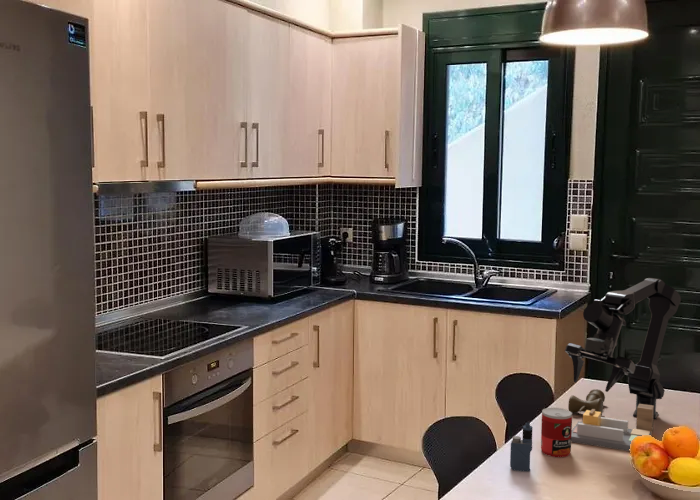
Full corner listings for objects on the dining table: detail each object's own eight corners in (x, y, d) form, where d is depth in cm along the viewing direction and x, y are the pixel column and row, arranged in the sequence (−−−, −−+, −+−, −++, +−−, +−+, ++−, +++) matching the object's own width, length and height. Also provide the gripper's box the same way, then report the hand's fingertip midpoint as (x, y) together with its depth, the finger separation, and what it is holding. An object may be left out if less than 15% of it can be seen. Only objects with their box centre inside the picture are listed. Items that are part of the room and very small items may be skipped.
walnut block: (638, 427, 232) (639, 403, 231) (652, 429, 230) (653, 405, 230) (636, 431, 229) (637, 407, 228) (650, 433, 227) (652, 409, 226)
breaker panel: (578, 426, 233) (578, 411, 232) (651, 437, 223) (652, 421, 223) (567, 441, 220) (568, 425, 220) (644, 453, 211) (645, 437, 211)
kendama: (612, 407, 252) (596, 423, 235) (581, 403, 257) (563, 418, 240) (613, 389, 252) (596, 403, 235) (582, 385, 257) (563, 399, 240)
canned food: (554, 459, 207) (556, 418, 205) (534, 449, 214) (535, 409, 212) (577, 454, 210) (578, 414, 209) (556, 445, 217) (557, 405, 216)
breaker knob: (585, 427, 227) (586, 407, 226) (600, 429, 225) (601, 409, 225) (582, 432, 223) (583, 412, 222) (597, 434, 221) (597, 414, 220)
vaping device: (531, 472, 198) (533, 425, 197) (509, 470, 199) (511, 423, 198) (531, 468, 201) (532, 421, 199) (510, 466, 202) (511, 420, 200)
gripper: (567, 318, 226) (549, 370, 223) (632, 334, 214) (614, 389, 211) (579, 330, 234) (562, 380, 231) (643, 346, 223) (626, 399, 220)
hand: (590, 386), depth 223 cm, fingers open, 9 cm apart
